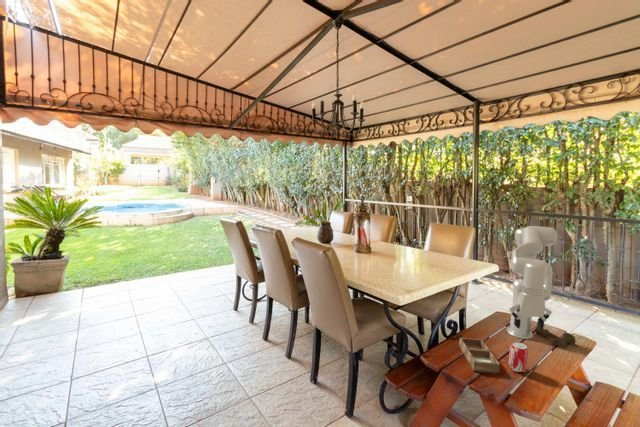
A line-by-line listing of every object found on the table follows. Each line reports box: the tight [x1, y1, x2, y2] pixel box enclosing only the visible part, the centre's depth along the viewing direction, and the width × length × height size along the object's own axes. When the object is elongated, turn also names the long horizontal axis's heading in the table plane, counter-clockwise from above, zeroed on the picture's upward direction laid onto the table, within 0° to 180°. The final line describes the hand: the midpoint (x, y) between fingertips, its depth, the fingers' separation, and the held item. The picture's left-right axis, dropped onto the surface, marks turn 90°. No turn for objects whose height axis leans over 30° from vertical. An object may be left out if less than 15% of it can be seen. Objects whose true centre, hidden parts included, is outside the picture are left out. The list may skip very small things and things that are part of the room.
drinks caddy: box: [458, 337, 501, 374], centre depth 149 cm, size 21×11×4 cm, turn 173°
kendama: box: [534, 326, 580, 349], centre depth 165 cm, size 6×10×20 cm
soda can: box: [507, 341, 529, 373], centre depth 141 cm, size 7×7×12 cm
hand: (528, 327), depth 137 cm, fingers open, 9 cm apart
